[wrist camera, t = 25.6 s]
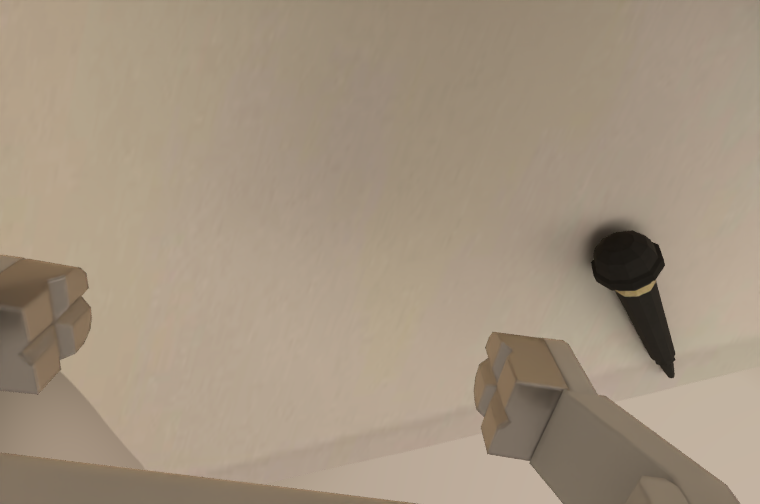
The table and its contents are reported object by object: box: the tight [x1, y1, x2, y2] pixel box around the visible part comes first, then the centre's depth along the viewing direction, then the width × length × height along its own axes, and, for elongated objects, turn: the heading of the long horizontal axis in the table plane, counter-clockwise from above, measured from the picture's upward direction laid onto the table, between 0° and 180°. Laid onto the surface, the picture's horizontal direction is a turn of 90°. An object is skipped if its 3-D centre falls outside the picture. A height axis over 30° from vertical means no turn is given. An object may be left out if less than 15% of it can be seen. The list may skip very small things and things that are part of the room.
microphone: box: [591, 231, 675, 378], centre depth 44 cm, size 6×6×20 cm
